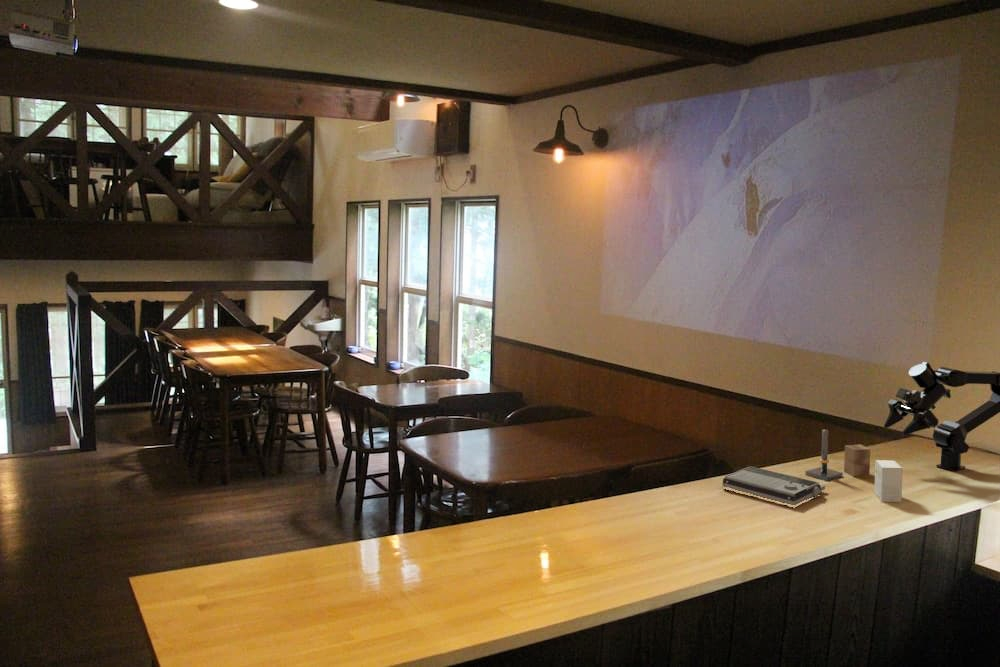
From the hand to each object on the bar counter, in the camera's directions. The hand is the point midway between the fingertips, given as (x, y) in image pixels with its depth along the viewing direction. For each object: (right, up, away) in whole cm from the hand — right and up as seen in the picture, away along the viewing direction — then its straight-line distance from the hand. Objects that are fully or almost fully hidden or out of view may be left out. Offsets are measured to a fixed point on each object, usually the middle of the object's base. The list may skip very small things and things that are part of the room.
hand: (893, 430), depth 255 cm
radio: (-43, -18, -13) cm, 49 cm away
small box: (-12, -18, -21) cm, 30 cm away
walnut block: (-11, -14, +2) cm, 18 cm away
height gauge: (-22, -15, +1) cm, 27 cm away
